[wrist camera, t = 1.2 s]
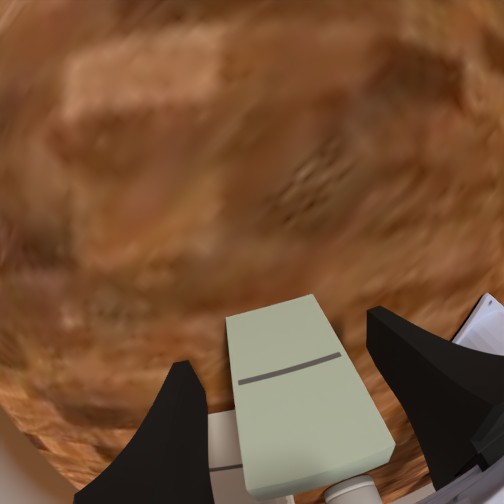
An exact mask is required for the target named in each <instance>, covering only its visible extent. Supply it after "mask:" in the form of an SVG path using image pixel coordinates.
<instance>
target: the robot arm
mask: <svg viewBox="0 0 504 504" xmlns="http://www.w3.org/2000/svg"><path fill="white" fill-rule="evenodd" d="M366 347H367V349H368V351H369V353H370V355H371V357H372V359H373V361H374V363H375V365H376V367H377V369H378V370H379V372H380V373H381V375H382V376H383V378H384V379H385V381H386V382H387V384H388V385H389V387H390V388H391V390H392V391H393V393H394V394H395V396H396V397H397V399H398V400H399V402H400V403H401V405H402V407H403V409H404V410H405V412H406V414H407V416H408V418H409V421H410V423H411V425H412V427H413V429H414V432H415V434H416V436H417V439H418V441H419V443H420V446H421V449H422V451H423V454H424V457H425V459H426V462H427V466H428V469H429V472H430V475H431V479H432V483H433V486H434V488H435V490H436V492H435V493H433V494H431V495H429V496H428V497H426V498H424V499H422V500H420V501H418V502H417V503H415V504H446V503H447V502H449V501H451V500H452V499H453V500H452V503H451V504H504V307H503V306H502V305H501V304H500V303H499V302H498V301H497V300H496V299H495V298H493V297H492V296H491V295H490V294H489V293H486V294H485V295H483V297H482V298H481V300H480V302H479V303H478V305H477V306H476V308H475V309H474V311H473V312H472V314H471V315H470V317H469V318H468V320H467V321H466V323H465V324H464V326H463V327H462V329H461V330H460V331H459V333H458V334H457V335H456V337H455V338H454V340H453V341H452V342H450V341H448V340H445V339H443V338H441V337H439V336H436V335H434V334H432V333H430V332H428V331H426V330H424V329H422V328H420V327H418V326H416V325H414V324H412V323H411V322H409V321H407V320H405V319H403V318H402V317H400V316H398V315H396V314H395V313H393V312H391V311H389V310H387V309H386V308H384V307H382V306H377V307H374V308H372V309H369V310H367V339H366ZM73 504H215V502H214V497H213V491H212V485H211V479H210V472H209V460H208V409H207V401H206V393H205V390H204V389H203V387H202V385H201V383H200V381H199V380H198V378H197V376H196V374H195V372H194V370H193V369H192V367H191V365H190V363H189V361H188V360H186V361H181V362H176V363H173V365H172V367H171V369H170V371H169V373H168V375H167V377H166V379H165V381H164V383H163V385H162V387H161V389H160V391H159V393H158V395H157V397H156V399H155V401H154V403H153V405H152V407H151V409H150V410H149V412H148V414H147V416H146V417H145V419H144V421H143V422H142V424H141V426H140V427H139V429H138V430H137V432H136V433H135V435H134V436H133V438H132V439H131V440H130V442H129V443H128V444H127V446H126V447H125V448H124V449H123V450H122V452H121V453H120V454H119V455H118V456H117V457H116V459H115V460H114V461H113V462H112V463H111V464H110V465H109V466H108V467H107V468H106V469H105V470H104V471H103V472H102V473H101V474H100V475H99V476H98V477H97V478H95V479H94V480H93V481H92V482H91V483H89V484H88V485H87V486H85V487H84V488H83V489H81V490H80V491H79V492H77V493H76V494H75V495H74V501H73Z"/></svg>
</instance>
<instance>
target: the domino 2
mask: <svg viewBox="0 0 504 504" xmlns="http://www.w3.org/2000/svg"><path fill="white" fill-rule="evenodd" d="M226 326H227V336H228V346H229V356H230V366H231V375H232V384H233V393H234V401H235V410H236V418H237V426H238V434H239V441H240V449H241V456H242V463H243V470H244V477H245V484H246V490H247V491H248V492H249V493H250V494H251V495H252V496H253V497H254V498H255V499H256V500H257V501H258V502H259V501H265V500H270V499H275V498H280V497H285V496H289V495H293V494H297V493H301V492H305V491H309V490H313V489H316V488H320V487H323V486H326V485H329V484H333V483H336V482H339V481H342V480H345V479H347V478H350V477H353V476H356V475H358V474H361V473H364V472H366V471H369V470H371V469H374V468H376V467H378V466H381V465H383V464H385V463H388V462H389V459H390V457H391V455H392V452H393V450H394V447H395V445H396V444H395V442H394V440H393V438H392V436H391V434H390V432H389V430H388V429H387V427H386V425H385V423H384V421H383V419H382V417H381V415H380V413H379V412H378V410H377V408H376V406H375V404H374V402H373V400H372V399H371V397H370V395H369V393H368V391H367V389H366V388H365V386H364V384H363V382H362V380H361V378H360V377H359V375H358V373H357V371H356V369H355V368H354V366H353V364H352V362H351V360H350V359H349V357H348V355H347V353H346V351H345V350H344V348H343V346H342V344H341V343H340V341H339V339H338V337H337V336H336V334H335V332H334V330H333V329H332V327H331V325H330V323H329V322H328V320H327V318H326V316H325V315H324V313H323V311H322V310H321V308H320V306H319V304H318V303H317V301H316V299H315V298H314V296H313V294H310V295H307V296H303V297H300V298H296V299H293V300H289V301H286V302H282V303H279V304H275V305H272V306H268V307H264V308H260V309H257V310H253V311H249V312H245V313H241V314H238V315H234V316H230V317H226Z"/></svg>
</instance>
